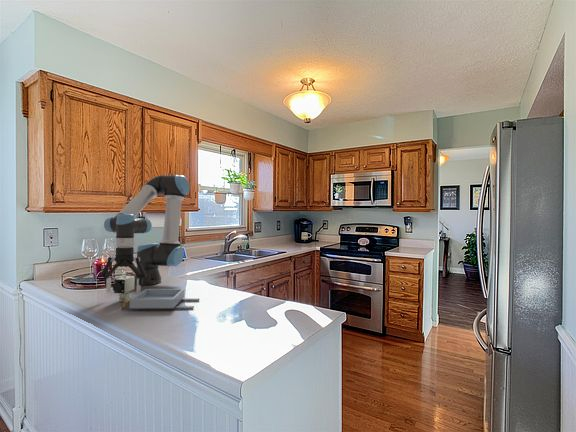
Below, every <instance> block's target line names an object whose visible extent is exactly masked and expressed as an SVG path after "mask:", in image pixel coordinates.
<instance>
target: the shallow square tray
mask: <svg viewBox="0 0 576 432" xmlns="http://www.w3.org/2000/svg"><path fill="white" fill-rule="evenodd" d="M130 298H131V299H130V305H129V306H130V308H174V307H175V306H178V304H179V303H181V302H180V301H181V300H182V299H185V288H145V289H143V290H142V291H140V292H139V293H138V294H137V293H136V294H135V296H132V297H130Z"/></svg>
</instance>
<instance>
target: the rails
mask: <svg viewBox="0 0 576 432" xmlns="http://www.w3.org/2000/svg"><path fill="white" fill-rule="evenodd" d="M131 298H132V297H130V299H131ZM130 299H129V300H127V301H126V302H124V301H123V302H122V307H120V310H121V311H141V310H142V311H163V310H164V311H171V310H170V309H193V308H194V309H195V305H176V306H175V307H174V308H130ZM199 300H200V298H183V299H182V300H181V301H199ZM199 302H200V301H199ZM194 309H193V310H194Z"/></svg>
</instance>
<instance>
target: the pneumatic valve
mask: <svg viewBox="0 0 576 432" xmlns="http://www.w3.org/2000/svg"><path fill="white" fill-rule="evenodd" d="M113 280H114V281H113V282H114V283H113V284H112V292H113V294H118V296H119V298H118V301H119V302H123V303H124V302H126V301H127V300H129V299H130V298H131V291H133V290H136V286H137V285H136V283H137V281H136V279H135V275H126V274H125V275H123V276H121V277H118V278H115V279H113Z"/></svg>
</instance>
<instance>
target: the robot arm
mask: <svg viewBox="0 0 576 432" xmlns="http://www.w3.org/2000/svg"><path fill="white" fill-rule="evenodd" d="M190 190H191V189H190V183H189V180H188V178H187V177H186V176H185V175H180V174H165V175H164V174H161V175H157V176H155V177H152V178H151V179H149V180H148V181H147V182H146V183H144V184H143V186H142V187H141V190H140V191H139V192H138V193H137V194H136V195H135V196H134V197H133V198H132V199H131V200H130V201H129V202H128V203H127V204H126V205H125V206H124V207H123V208H122V209H121V210H120V211H119V212H118V213H117V214H116V215H115V216H114V217H108V218H106V219H105V220H104V222H103V227H104V230H105V231H106V232H108V233H113V234H116V235H115V246H116V247H115V256H109V257H108V258H107V262H106V264H105V266H104V267H103V269H102V271H101V272H100V275H99V276H100V278H104V285H105V287H106V289H105V292H106V293H110V292H111V291H112V277H111V275H113V273H115V271H116V270H117V269H118V268H119V267H120V268H123V267H125V268H129V269H131V271H132V272H133V273H134V276H135V279H136V281H137V283H136V285H135V286H136V294H137V293H138V294H139V293H140V292H141V289H142V288H141V286H150V285H153V286H154V285H157V284H160V283H162V275H161V272H160V269H159V267H169V268H170V267H177V266H179V265H180V264H181V262H183V260H184V255H185V251H184V247H182V245H181V242H180V241H179V238H180V237H179V235H180V225H181V215H182V213H181V212H182V206H183V205H182V202H183V200H185V198H186V196H187V195H188V194H189V193H190ZM161 195H163V197H164V198H165V199H166V201H165V203H166V204H165V213H164V223H163V232H162V233H163V234H162V240H161V241H160V242H155V243H144V244H139V245H138V246H137V248H136V249H137V250H136V257H134V255H135V254H134V251H135V249H134V245H135V234H146V233H149V232H151V230H152V227H153V226H152V222H151V220H149V219H148V218H145V217H144V218H143V217H140V218H138V217H137V216H138V215H139V214H140V213H141V212H142V211H143V209H144V208H146V207H147V205H149V203H150V202H151V201H152V200H153V199H156V198H157V197H158V196H161ZM114 261H115V263H114V265H113V266H112V263H113V262H114ZM134 262H135V263H136V265H135V264H134ZM111 266H112V267H111ZM110 268H111V269H110Z"/></svg>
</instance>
